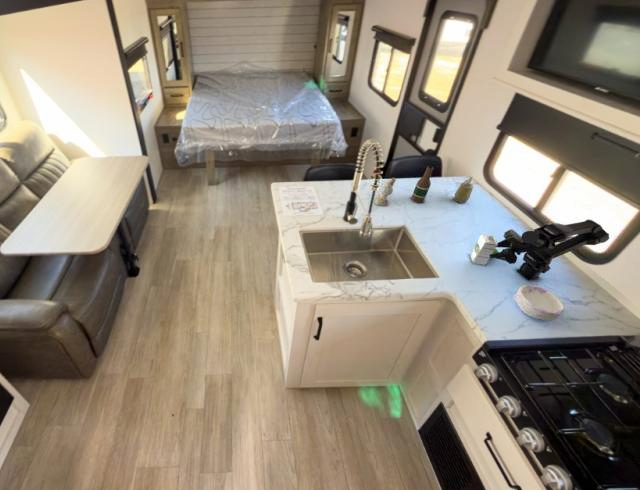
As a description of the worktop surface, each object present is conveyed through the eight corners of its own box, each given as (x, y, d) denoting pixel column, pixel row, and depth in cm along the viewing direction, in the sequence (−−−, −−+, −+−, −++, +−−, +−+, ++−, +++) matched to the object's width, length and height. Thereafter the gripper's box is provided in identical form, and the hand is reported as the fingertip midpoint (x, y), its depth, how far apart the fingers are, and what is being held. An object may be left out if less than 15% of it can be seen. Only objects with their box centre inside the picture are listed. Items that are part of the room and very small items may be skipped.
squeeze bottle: (449, 198, 204) (460, 174, 193) (458, 195, 207) (469, 172, 196) (461, 205, 198) (473, 181, 188) (469, 202, 201) (482, 178, 190)
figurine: (387, 208, 197) (396, 180, 185) (373, 204, 200) (381, 177, 188) (389, 200, 203) (398, 173, 191) (376, 197, 206) (384, 170, 195)
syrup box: (485, 265, 158) (499, 244, 149) (472, 263, 159) (485, 241, 151) (481, 257, 162) (495, 236, 154) (468, 255, 164) (481, 234, 155)
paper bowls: (535, 294, 143) (545, 283, 139) (563, 324, 131) (575, 313, 127) (502, 295, 143) (511, 284, 138) (528, 325, 131) (538, 314, 126)
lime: (498, 259, 161) (503, 251, 158) (489, 260, 161) (494, 253, 157) (489, 252, 165) (494, 244, 162) (481, 253, 165) (485, 246, 162)
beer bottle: (411, 202, 201) (424, 169, 187) (410, 195, 207) (422, 163, 193) (424, 204, 200) (438, 171, 185) (422, 197, 206) (436, 165, 191)
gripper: (525, 219, 147) (487, 227, 159) (519, 240, 136) (478, 246, 148) (537, 239, 147) (498, 246, 160) (532, 262, 136) (490, 266, 149)
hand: (491, 250), depth 154 cm, fingers open, 9 cm apart
